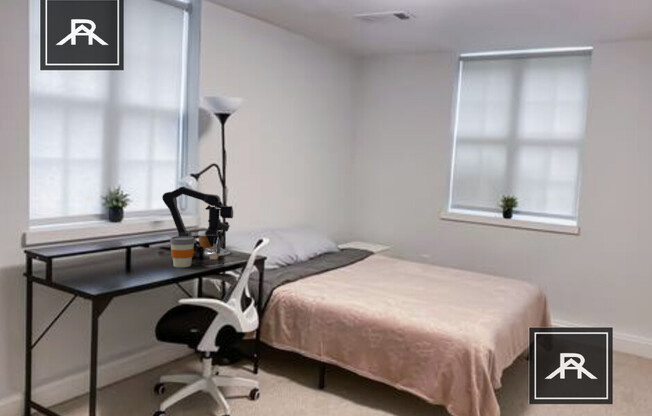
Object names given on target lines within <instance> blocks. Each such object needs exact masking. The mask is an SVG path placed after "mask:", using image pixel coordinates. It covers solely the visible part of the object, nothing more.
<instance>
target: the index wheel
mask: <svg viewBox="0 0 652 416" xmlns="http://www.w3.org/2000/svg"><path fill="white" fill-rule="evenodd" d="M215 245H216V246H213V247H210V248H206V249H205V250H204V255H205V256H208V257H210V254H211V253H212V254H218V257H224V256H228V255H230V254H231V250H230V249H229V248H228V247H226V248H225V247H224V248H222V246H221V239H220V238H218V239H217V243H216V244H215Z"/></svg>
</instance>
